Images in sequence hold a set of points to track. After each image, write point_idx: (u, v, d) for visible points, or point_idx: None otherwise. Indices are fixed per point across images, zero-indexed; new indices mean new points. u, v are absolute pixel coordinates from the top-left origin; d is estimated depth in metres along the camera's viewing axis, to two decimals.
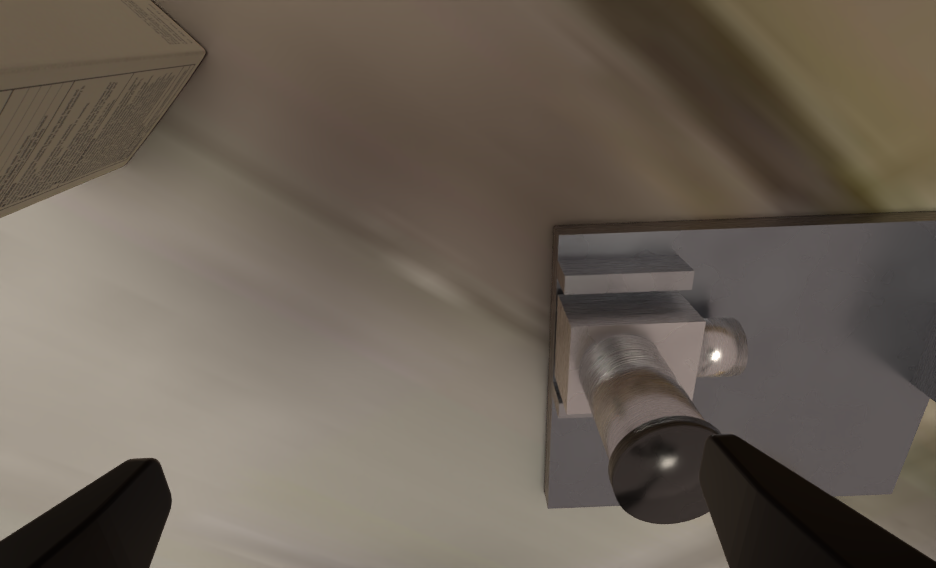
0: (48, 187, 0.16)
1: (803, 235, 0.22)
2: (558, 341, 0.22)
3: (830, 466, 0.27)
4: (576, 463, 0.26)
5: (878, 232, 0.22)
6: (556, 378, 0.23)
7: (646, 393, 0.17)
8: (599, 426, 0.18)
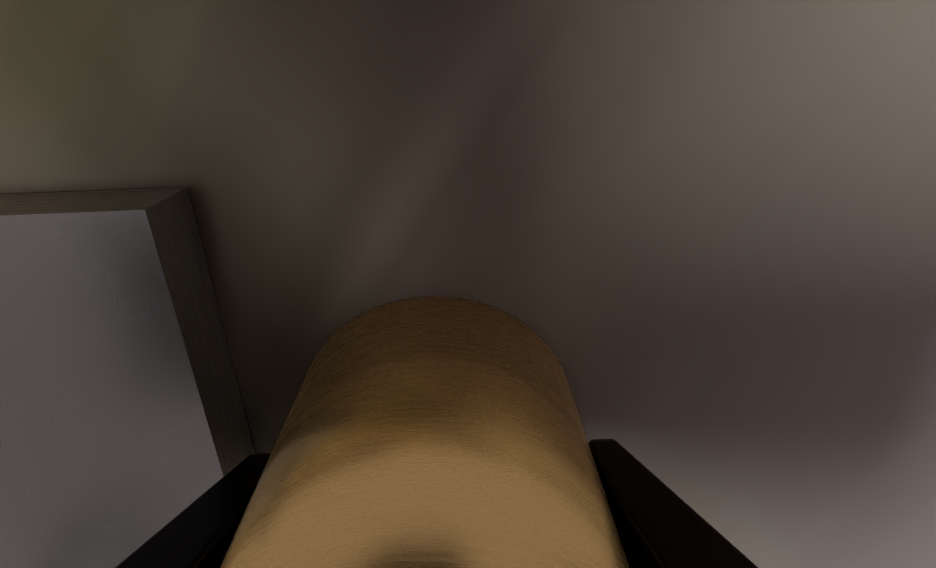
0: None
1: None
2: None
3: (80, 442, 0.08)
4: None
5: None
6: None
7: None
8: None
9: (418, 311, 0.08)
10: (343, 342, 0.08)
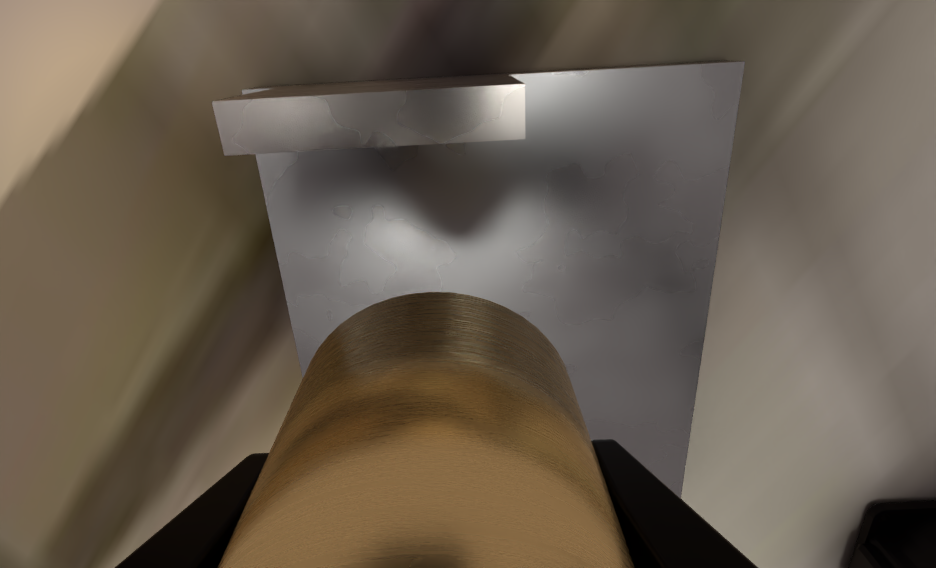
0: None
1: (303, 324, 0.19)
2: None
3: (662, 189, 0.17)
4: None
5: (286, 243, 0.18)
6: None
7: None
8: None
9: (419, 306, 0.08)
10: (344, 338, 0.08)
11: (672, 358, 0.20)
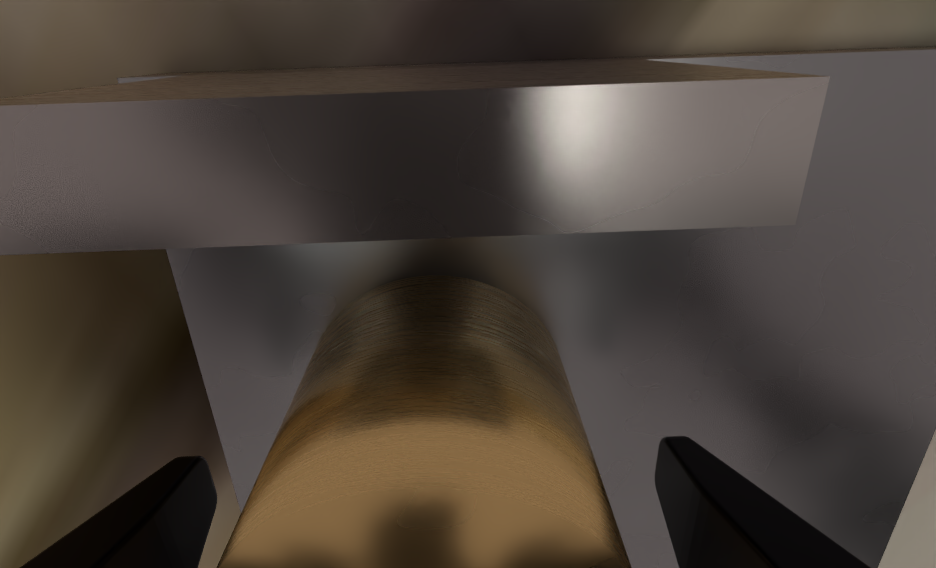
0: None
1: (251, 477, 0.11)
2: None
3: (891, 271, 0.10)
4: None
5: (218, 354, 0.10)
6: None
7: None
8: None
9: (420, 288, 0.09)
10: (351, 317, 0.09)
11: (849, 525, 0.12)
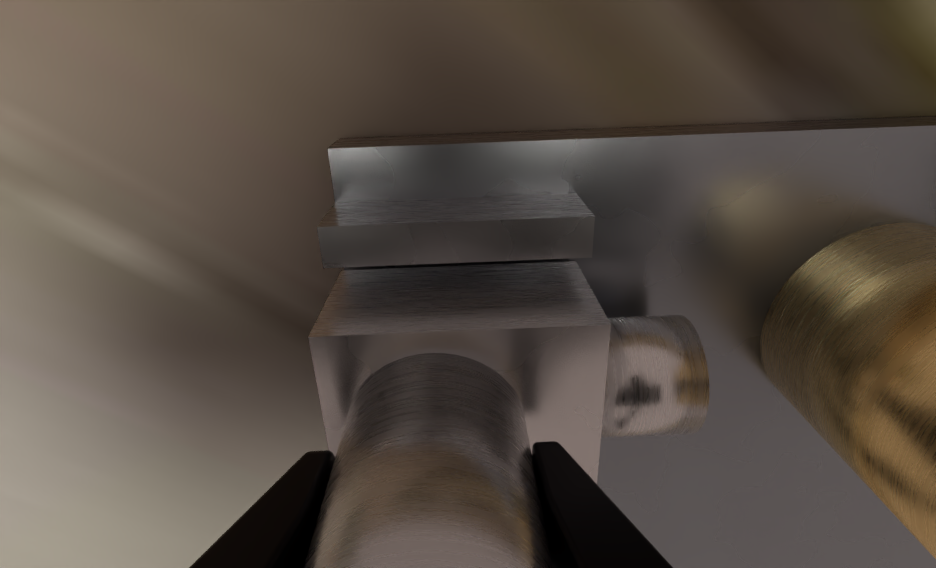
0: None
1: (824, 150, 0.11)
2: None
3: (863, 566, 0.16)
4: None
5: None
6: None
7: (382, 538, 0.06)
8: None
9: None
10: None
11: None
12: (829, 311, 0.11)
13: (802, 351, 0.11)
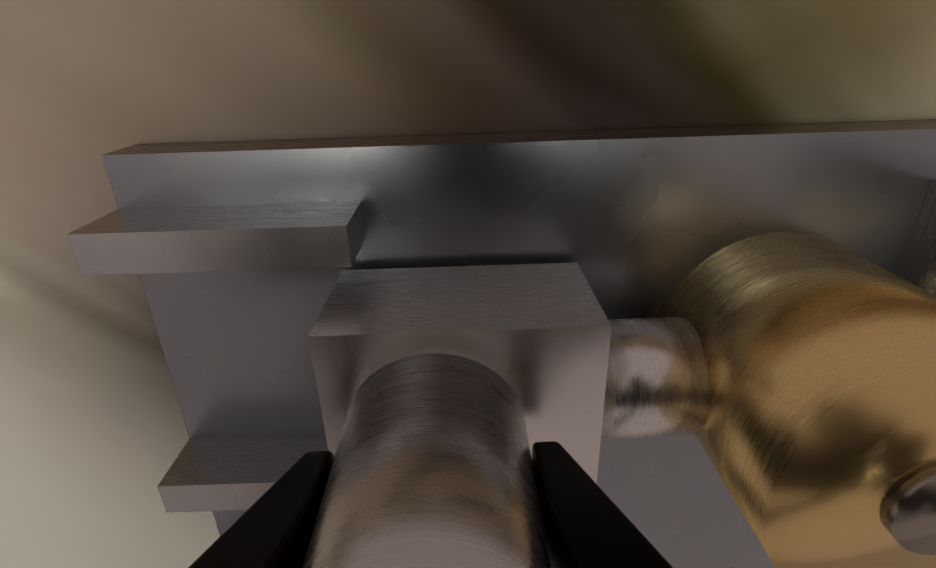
0: None
1: (605, 160, 0.11)
2: None
3: None
4: None
5: (757, 155, 0.11)
6: None
7: (380, 540, 0.06)
8: None
9: None
10: None
11: None
12: (703, 319, 0.11)
13: None
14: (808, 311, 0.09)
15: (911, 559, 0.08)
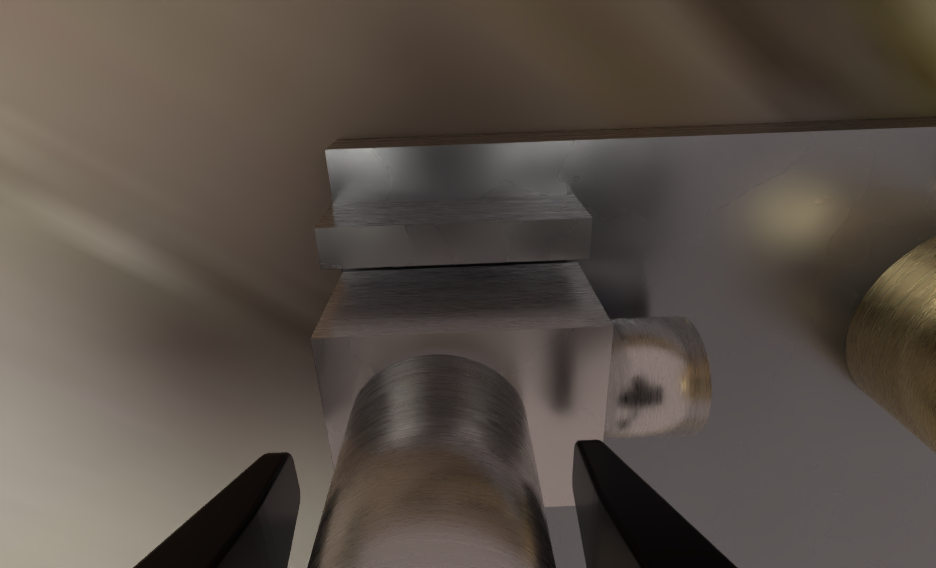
0: None
1: (822, 152, 0.11)
2: None
3: (861, 567, 0.16)
4: None
5: None
6: None
7: (385, 541, 0.06)
8: None
9: None
10: None
11: None
12: (932, 308, 0.11)
13: (900, 348, 0.11)
14: None
15: None
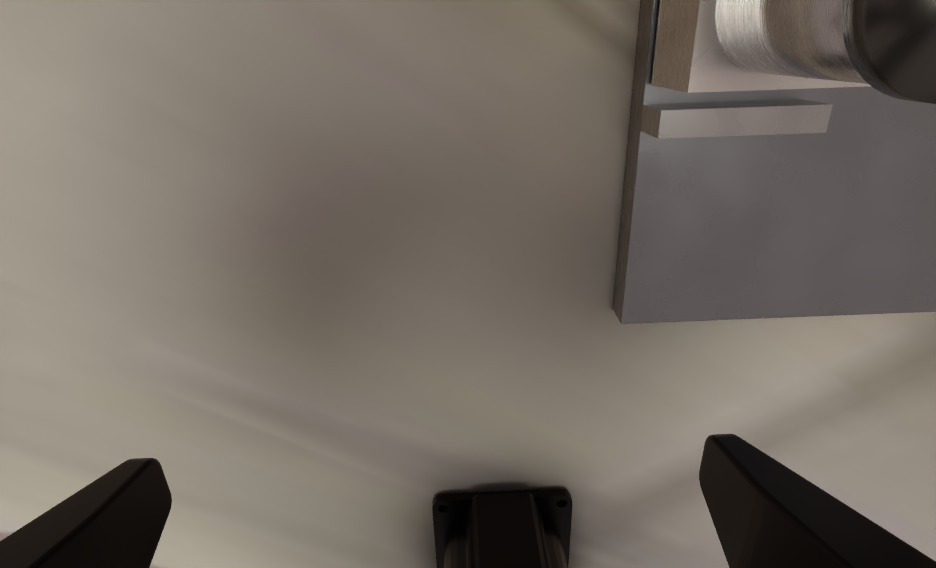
0: None
1: None
2: (666, 7, 0.15)
3: None
4: (666, 248, 0.19)
5: None
6: (657, 81, 0.16)
7: None
8: None
9: None
10: None
11: (832, 289, 0.20)
12: None
13: None
14: None
15: None
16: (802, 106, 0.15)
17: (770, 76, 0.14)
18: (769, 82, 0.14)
